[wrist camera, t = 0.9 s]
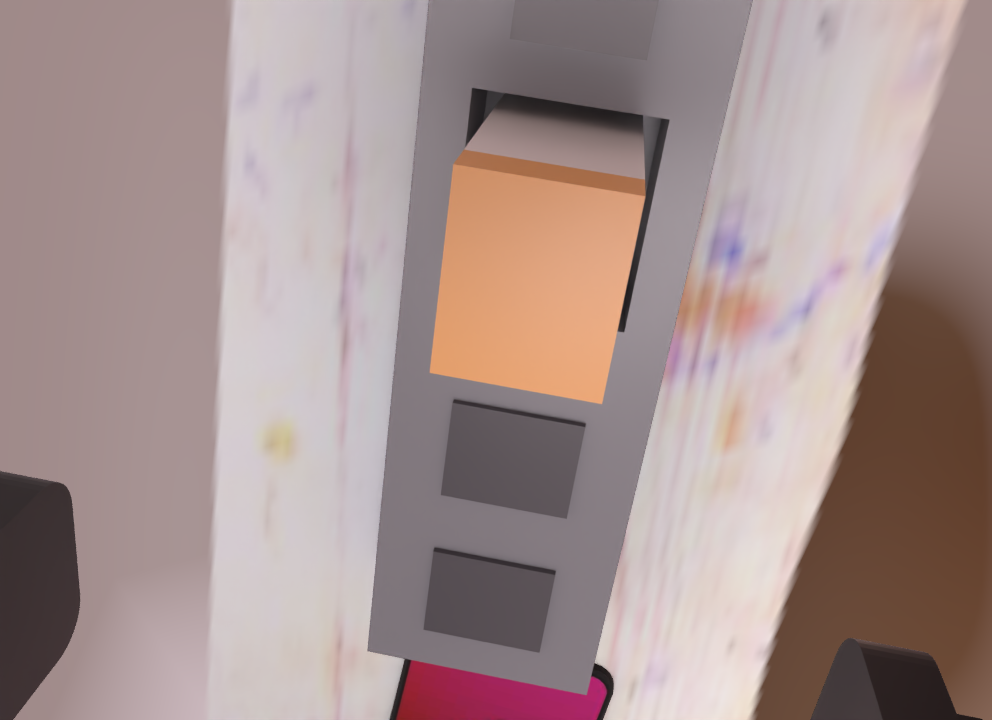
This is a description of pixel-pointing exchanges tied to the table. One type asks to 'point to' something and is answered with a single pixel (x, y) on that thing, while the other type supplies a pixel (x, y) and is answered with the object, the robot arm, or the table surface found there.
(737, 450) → the table surface
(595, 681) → the smartphone
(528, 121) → the orange-topped block
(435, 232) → the power strip
